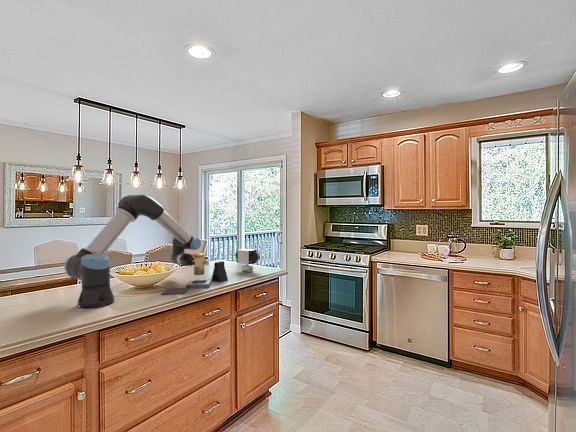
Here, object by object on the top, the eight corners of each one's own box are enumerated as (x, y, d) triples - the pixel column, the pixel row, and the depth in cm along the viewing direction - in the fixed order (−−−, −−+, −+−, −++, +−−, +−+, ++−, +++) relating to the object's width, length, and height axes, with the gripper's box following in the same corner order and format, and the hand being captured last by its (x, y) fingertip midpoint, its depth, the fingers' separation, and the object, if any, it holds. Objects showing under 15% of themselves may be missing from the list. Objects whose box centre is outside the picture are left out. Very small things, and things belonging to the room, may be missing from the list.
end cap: (204, 275, 187) (204, 254, 187) (192, 275, 186) (192, 255, 186) (205, 272, 193) (205, 253, 193) (194, 273, 192) (194, 253, 192)
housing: (209, 287, 183) (209, 284, 183) (185, 288, 182) (185, 285, 182) (211, 282, 197) (211, 278, 197) (190, 282, 196) (190, 279, 195)
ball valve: (260, 272, 228) (260, 247, 228) (251, 273, 222) (251, 248, 222) (243, 269, 240) (243, 245, 240) (235, 270, 234) (234, 246, 233)
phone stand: (228, 280, 202) (227, 261, 202) (221, 282, 197) (220, 263, 197) (218, 278, 207) (217, 260, 207) (211, 280, 202) (210, 261, 202)
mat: (184, 294, 169) (184, 292, 169) (161, 295, 168) (161, 293, 168) (188, 288, 181) (188, 287, 181) (166, 289, 180) (166, 288, 180)
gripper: (198, 263, 209) (217, 267, 192) (170, 266, 196) (188, 271, 179) (198, 252, 209) (217, 255, 192) (170, 254, 196) (188, 258, 179)
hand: (203, 263), depth 186 cm, fingers closed on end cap, 6 cm apart
